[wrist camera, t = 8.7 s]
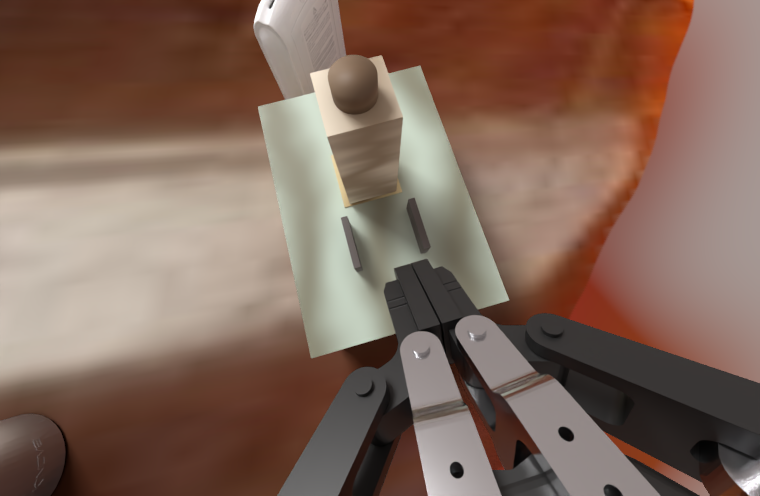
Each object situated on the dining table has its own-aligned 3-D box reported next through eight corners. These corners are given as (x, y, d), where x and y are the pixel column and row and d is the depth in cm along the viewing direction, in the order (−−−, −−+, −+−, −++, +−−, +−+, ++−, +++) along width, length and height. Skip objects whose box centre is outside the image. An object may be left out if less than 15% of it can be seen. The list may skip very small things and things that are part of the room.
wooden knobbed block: (349, 203, 23) (321, 120, 13) (338, 161, 23) (303, 52, 13) (396, 191, 23) (404, 99, 13) (383, 149, 24) (381, 33, 14)
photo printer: (323, 52, 37) (293, -73, 25) (352, 63, 36) (335, -59, 24) (285, 113, 35) (232, 9, 23) (315, 125, 34) (277, 25, 22)
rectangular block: (332, 343, 29) (303, 363, 18) (289, 156, 33) (247, 89, 23) (474, 302, 29) (522, 299, 19) (411, 124, 34) (422, 45, 24)
